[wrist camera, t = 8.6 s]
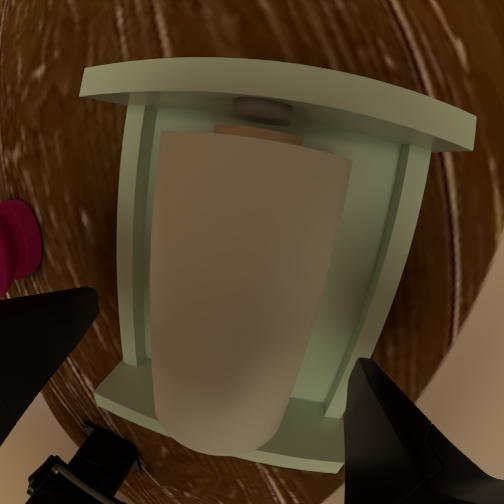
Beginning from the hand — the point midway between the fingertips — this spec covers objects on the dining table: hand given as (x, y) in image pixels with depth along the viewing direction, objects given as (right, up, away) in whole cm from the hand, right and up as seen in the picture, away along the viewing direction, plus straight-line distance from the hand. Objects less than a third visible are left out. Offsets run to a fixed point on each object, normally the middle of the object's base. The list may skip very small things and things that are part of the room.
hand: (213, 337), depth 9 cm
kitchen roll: (0, +1, +3) cm, 3 cm away
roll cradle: (+1, +2, +7) cm, 7 cm away
